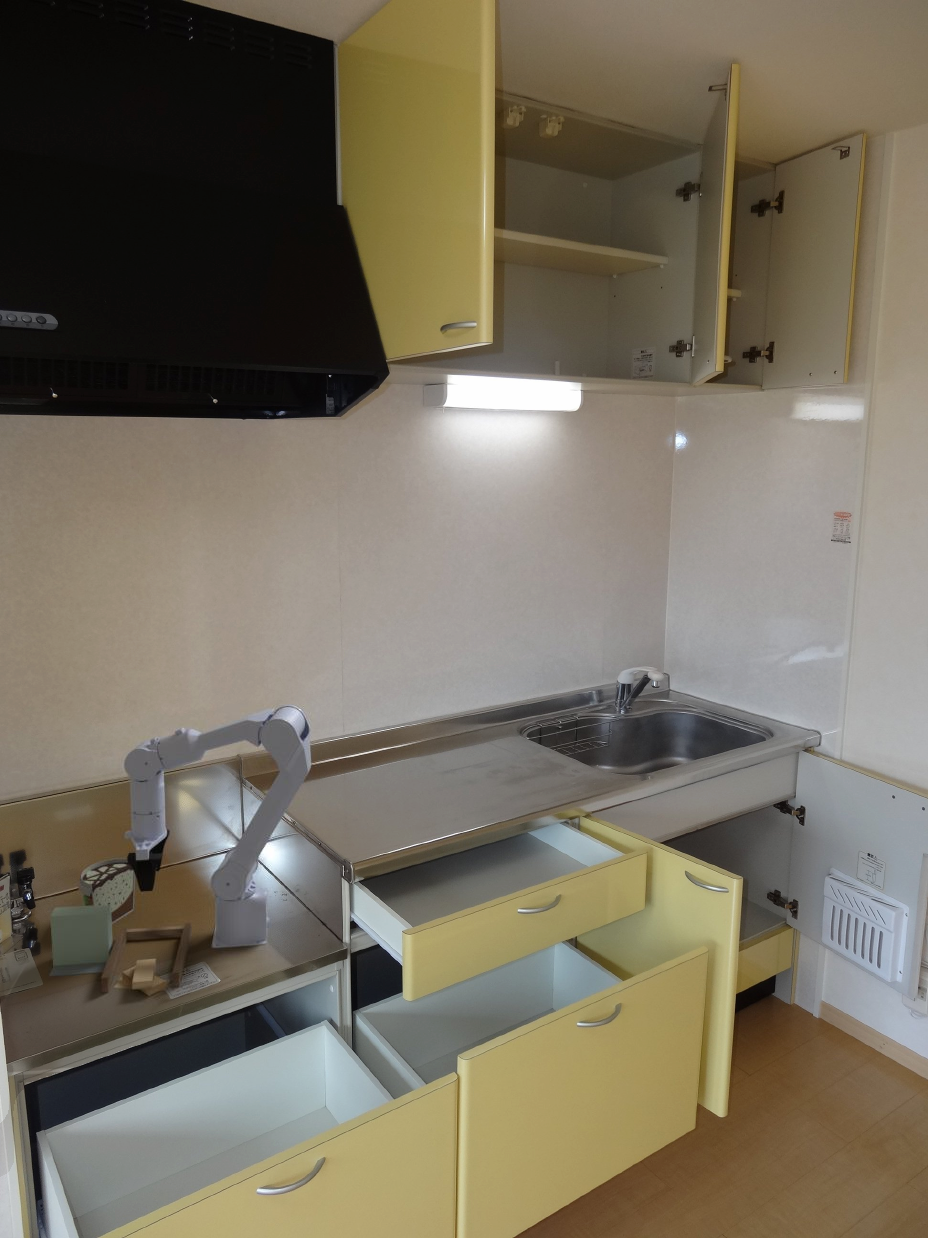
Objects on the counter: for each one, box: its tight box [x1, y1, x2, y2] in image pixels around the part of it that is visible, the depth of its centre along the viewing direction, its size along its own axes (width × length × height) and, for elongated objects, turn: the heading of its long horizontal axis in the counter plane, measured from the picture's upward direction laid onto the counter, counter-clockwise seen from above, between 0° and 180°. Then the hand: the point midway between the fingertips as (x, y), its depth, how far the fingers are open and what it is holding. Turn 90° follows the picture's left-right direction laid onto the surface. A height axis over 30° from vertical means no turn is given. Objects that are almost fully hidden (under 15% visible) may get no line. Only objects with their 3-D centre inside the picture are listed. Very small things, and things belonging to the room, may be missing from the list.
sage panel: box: [49, 905, 114, 966], centre depth 152 cm, size 9×3×9 cm, turn 100°
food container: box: [77, 857, 136, 925], centre depth 167 cm, size 12×6×10 cm, turn 159°
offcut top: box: [131, 958, 157, 990], centre depth 146 cm, size 7×3×1 cm, turn 14°
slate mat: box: [48, 943, 114, 977], centre depth 153 cm, size 9×9×1 cm
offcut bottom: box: [113, 976, 172, 991], centre depth 147 cm, size 8×3×1 cm, turn 87°
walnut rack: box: [100, 922, 193, 994], centre depth 153 cm, size 12×17×3 cm
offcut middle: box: [121, 965, 165, 997], centre depth 146 cm, size 8×3×1 cm, turn 52°
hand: (150, 880), depth 161 cm, fingers open, 7 cm apart
